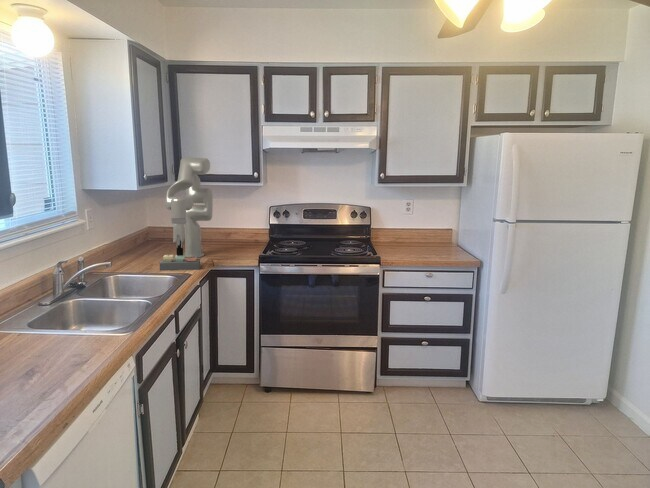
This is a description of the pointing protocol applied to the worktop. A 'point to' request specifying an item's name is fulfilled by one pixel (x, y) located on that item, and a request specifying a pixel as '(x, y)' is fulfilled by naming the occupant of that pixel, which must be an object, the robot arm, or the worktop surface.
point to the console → (179, 265)
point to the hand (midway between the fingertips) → (179, 254)
